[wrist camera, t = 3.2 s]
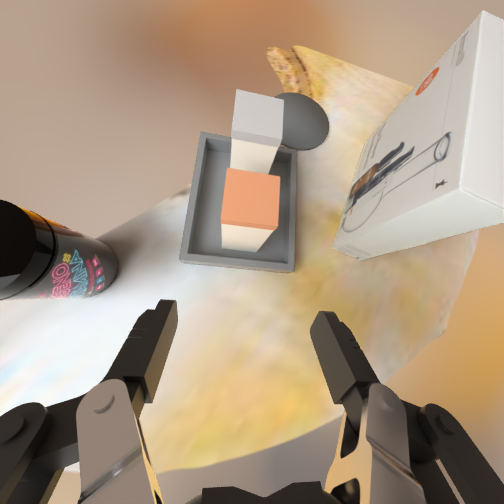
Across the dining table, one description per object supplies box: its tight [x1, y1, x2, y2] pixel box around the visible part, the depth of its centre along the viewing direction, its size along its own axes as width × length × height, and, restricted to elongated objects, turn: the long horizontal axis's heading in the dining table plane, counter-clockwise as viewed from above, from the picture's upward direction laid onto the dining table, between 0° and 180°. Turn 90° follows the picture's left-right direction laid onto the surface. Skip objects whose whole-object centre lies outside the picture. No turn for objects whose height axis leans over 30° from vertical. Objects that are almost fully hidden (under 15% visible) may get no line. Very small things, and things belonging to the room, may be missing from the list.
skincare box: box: [332, 11, 504, 261], centre depth 22 cm, size 21×5×16 cm, turn 157°
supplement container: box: [0, 200, 118, 301], centre depth 17 cm, size 7×7×10 cm
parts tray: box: [179, 132, 297, 273], centre depth 25 cm, size 18×14×2 cm
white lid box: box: [230, 89, 284, 174], centre depth 22 cm, size 5×5×10 cm
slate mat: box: [274, 93, 329, 150], centre depth 31 cm, size 11×11×1 cm
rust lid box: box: [221, 168, 280, 252], centre depth 20 cm, size 5×5×10 cm
